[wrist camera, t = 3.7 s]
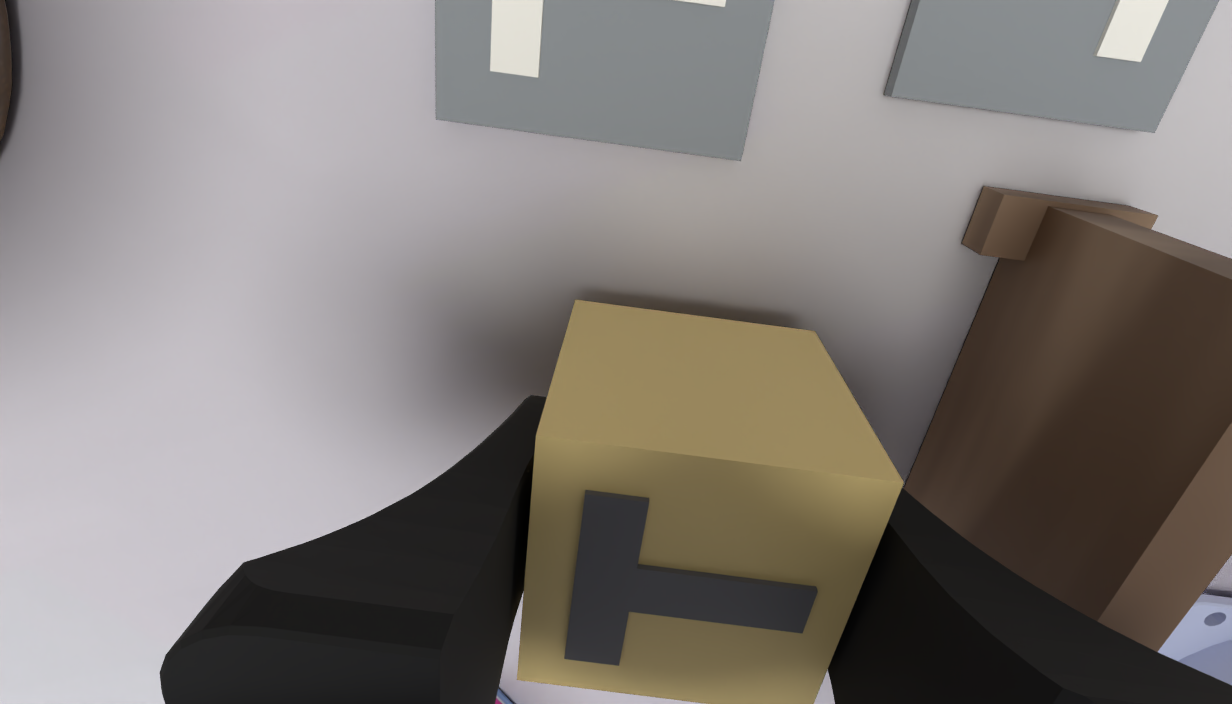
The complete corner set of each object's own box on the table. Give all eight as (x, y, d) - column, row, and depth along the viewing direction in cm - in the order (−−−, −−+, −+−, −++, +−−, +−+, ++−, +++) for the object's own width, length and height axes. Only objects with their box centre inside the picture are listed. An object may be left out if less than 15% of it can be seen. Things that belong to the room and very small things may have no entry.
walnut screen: (1129, 206, 13) (1488, 326, 7) (934, 598, 18) (1062, 841, 12) (983, 186, 13) (1237, 291, 7) (830, 585, 18) (911, 824, 12)
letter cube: (814, 331, 13) (906, 487, 8) (760, 517, 15) (809, 721, 10) (575, 299, 13) (534, 438, 8) (556, 490, 15) (516, 685, 10)
